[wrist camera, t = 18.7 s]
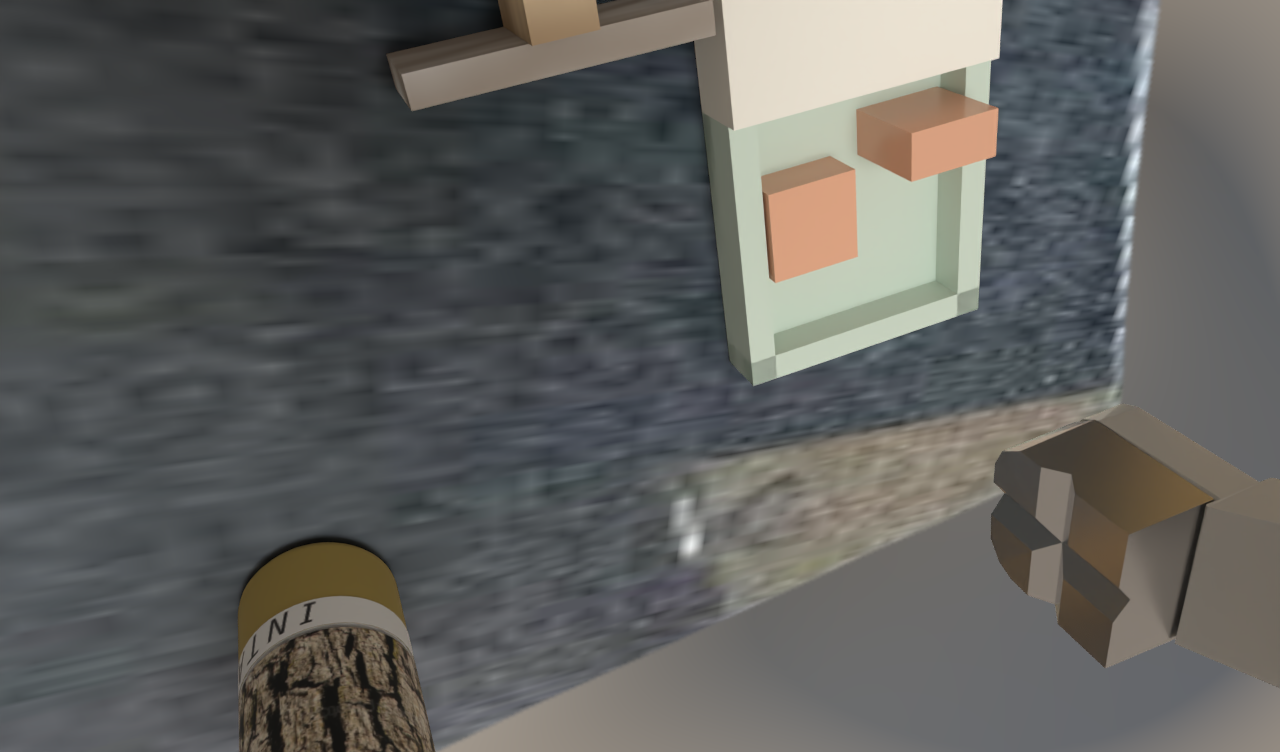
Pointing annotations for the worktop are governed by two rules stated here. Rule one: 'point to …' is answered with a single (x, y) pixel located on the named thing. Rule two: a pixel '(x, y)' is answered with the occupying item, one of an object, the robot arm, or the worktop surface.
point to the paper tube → (327, 657)
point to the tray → (886, 239)
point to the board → (833, 51)
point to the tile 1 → (809, 217)
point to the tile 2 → (926, 133)
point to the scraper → (544, 45)
